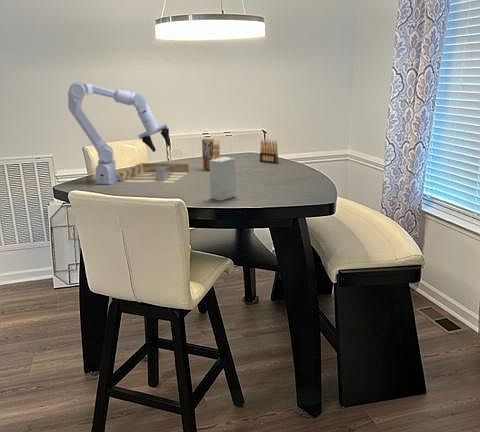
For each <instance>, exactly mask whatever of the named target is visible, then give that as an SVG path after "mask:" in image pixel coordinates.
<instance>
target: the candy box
mask: <svg viewBox="0 0 480 432" xmlns="http://www.w3.org/2000/svg"><path fill="white" fill-rule="evenodd" d="M201 143H202V144H201V145H202V146H201V147H202V148H201V150H202V169H203V170H202V171H203V172H209V173H210V167H209V160H213V159H218V158H221V157H220V155H221V153H220V152H221V149H220V139H217V138H216V139H215V138H202V139H201Z"/></svg>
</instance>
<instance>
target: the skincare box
mask: <svg viewBox="0 0 480 432" xmlns="http://www.w3.org/2000/svg"><path fill="white" fill-rule="evenodd" d="M209 167H210V172H209V184H210V185H209V189H210V198H211V199H214V200H217V201H224V200H228V199H232V198H235V197H236V196H237V193H236V192H237V191H236V190H237V188H236V185H237V184H236V159H235V157H233V158H232V157H227V156H222V157H220V158H218V159H213V160H209Z"/></svg>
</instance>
